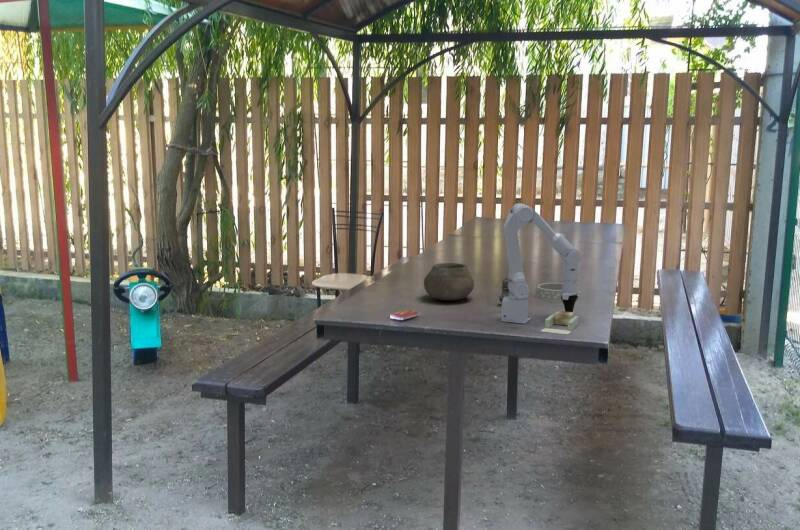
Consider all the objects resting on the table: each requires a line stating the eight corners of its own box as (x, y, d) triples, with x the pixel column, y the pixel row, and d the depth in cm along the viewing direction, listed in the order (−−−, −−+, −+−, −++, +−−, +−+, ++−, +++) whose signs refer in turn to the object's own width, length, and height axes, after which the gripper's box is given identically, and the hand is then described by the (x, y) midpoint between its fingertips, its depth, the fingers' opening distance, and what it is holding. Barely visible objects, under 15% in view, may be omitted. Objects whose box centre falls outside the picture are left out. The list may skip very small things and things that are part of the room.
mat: (540, 331, 278) (540, 331, 278) (544, 328, 282) (544, 327, 282) (568, 334, 274) (568, 334, 274) (571, 331, 278) (571, 330, 278)
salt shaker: (510, 307, 314) (511, 278, 312) (496, 306, 316) (497, 277, 314) (514, 304, 320) (514, 275, 317) (500, 303, 322) (500, 274, 320)
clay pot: (415, 297, 334) (415, 262, 331) (458, 292, 343) (458, 259, 340) (438, 307, 315) (438, 271, 312) (483, 302, 323) (484, 267, 321)
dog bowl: (533, 301, 326) (533, 289, 325) (538, 292, 343) (538, 280, 342) (574, 304, 321) (575, 291, 320) (578, 295, 338) (578, 283, 337)
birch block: (554, 323, 288) (554, 313, 287) (557, 321, 292) (557, 310, 291) (570, 325, 285) (570, 315, 284) (573, 322, 289) (573, 312, 288)
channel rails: (544, 327, 283) (545, 319, 282) (552, 321, 293) (552, 313, 292) (571, 330, 279) (571, 322, 278) (578, 323, 288) (578, 315, 288)
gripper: (576, 283, 284) (575, 319, 287) (585, 276, 297) (583, 311, 299) (557, 282, 287) (556, 317, 290) (566, 275, 300) (565, 309, 302)
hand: (568, 314), depth 295 cm, fingers closed
